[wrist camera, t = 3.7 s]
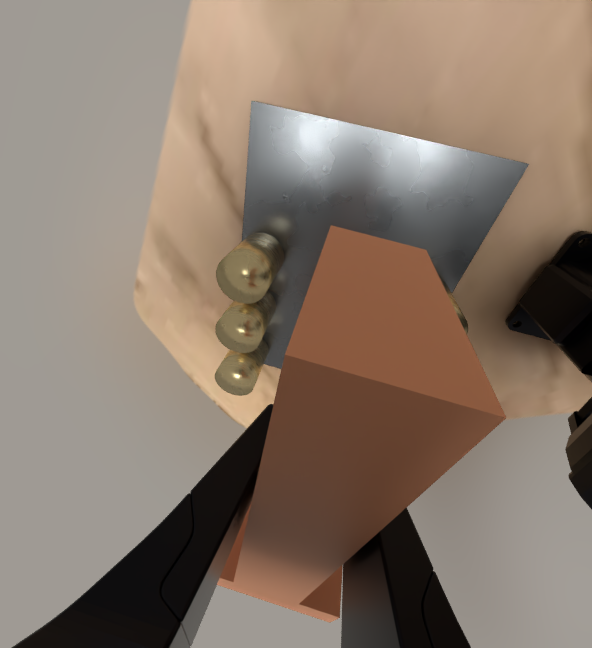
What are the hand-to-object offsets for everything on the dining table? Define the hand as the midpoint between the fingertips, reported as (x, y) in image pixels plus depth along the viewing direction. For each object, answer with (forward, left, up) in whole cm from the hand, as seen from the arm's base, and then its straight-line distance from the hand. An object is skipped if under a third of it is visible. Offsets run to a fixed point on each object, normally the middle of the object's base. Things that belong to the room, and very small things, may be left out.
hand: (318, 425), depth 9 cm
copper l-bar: (0, +1, -2) cm, 3 cm away
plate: (0, +1, -12) cm, 12 cm away
